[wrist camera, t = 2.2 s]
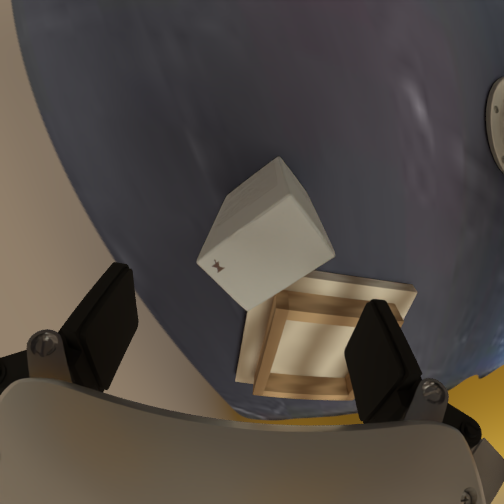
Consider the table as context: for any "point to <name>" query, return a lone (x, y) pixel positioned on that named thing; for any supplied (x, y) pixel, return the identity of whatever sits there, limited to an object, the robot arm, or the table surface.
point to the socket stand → (311, 335)
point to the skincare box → (264, 237)
